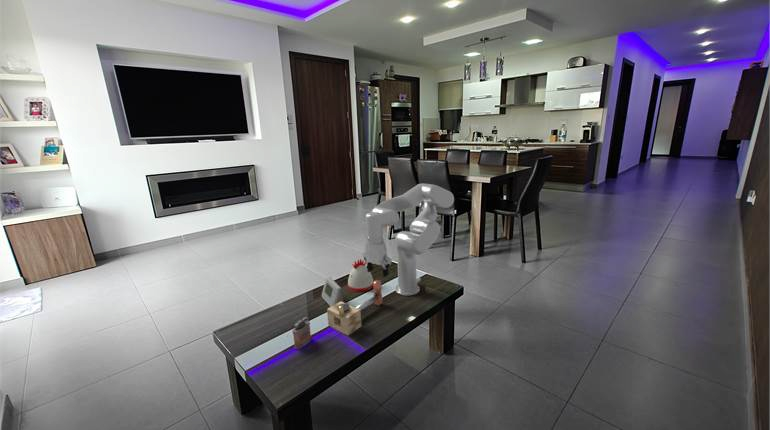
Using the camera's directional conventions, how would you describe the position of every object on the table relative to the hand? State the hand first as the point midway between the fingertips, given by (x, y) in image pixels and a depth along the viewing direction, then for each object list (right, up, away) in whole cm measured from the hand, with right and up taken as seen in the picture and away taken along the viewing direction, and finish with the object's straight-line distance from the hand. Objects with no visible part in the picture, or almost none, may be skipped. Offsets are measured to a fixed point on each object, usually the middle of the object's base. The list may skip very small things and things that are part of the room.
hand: (378, 273), depth 150 cm
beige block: (-14, -20, -13) cm, 28 cm away
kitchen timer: (-10, -11, +24) cm, 28 cm away
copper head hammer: (-5, -17, -2) cm, 18 cm away
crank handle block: (-14, -13, -18) cm, 26 cm away
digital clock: (-23, -16, +7) cm, 29 cm away
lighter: (-29, -24, -23) cm, 44 cm away
